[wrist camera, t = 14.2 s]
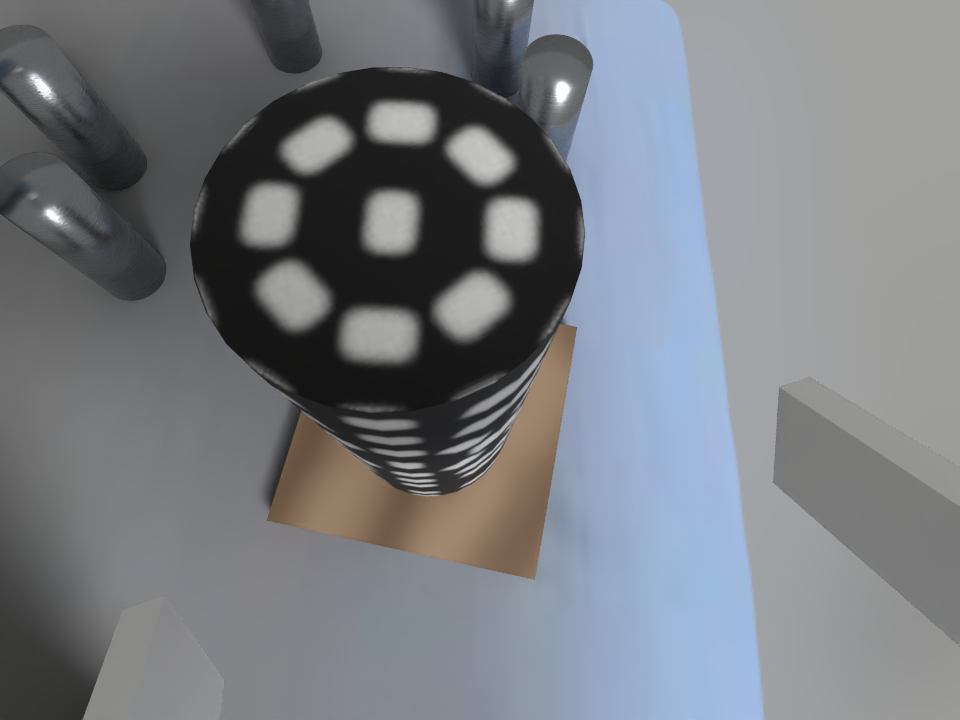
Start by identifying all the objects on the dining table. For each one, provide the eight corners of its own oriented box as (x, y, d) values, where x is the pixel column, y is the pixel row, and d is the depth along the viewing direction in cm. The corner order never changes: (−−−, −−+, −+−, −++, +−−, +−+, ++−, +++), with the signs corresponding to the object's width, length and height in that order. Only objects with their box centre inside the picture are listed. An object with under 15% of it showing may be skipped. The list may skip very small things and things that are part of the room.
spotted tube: (363, 342, 32) (229, 55, 13) (509, 350, 33) (582, 78, 14) (346, 492, 30) (150, 401, 11) (505, 500, 30) (587, 424, 11)
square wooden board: (275, 521, 31) (266, 520, 29) (347, 289, 35) (343, 278, 34) (531, 577, 30) (534, 579, 29) (572, 336, 35) (577, 327, 33)
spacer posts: (31, 280, 34) (-111, 193, 26) (175, -7, 42) (101, -149, 33) (521, 384, 34) (543, 329, 25) (581, 73, 41) (614, -52, 32)
